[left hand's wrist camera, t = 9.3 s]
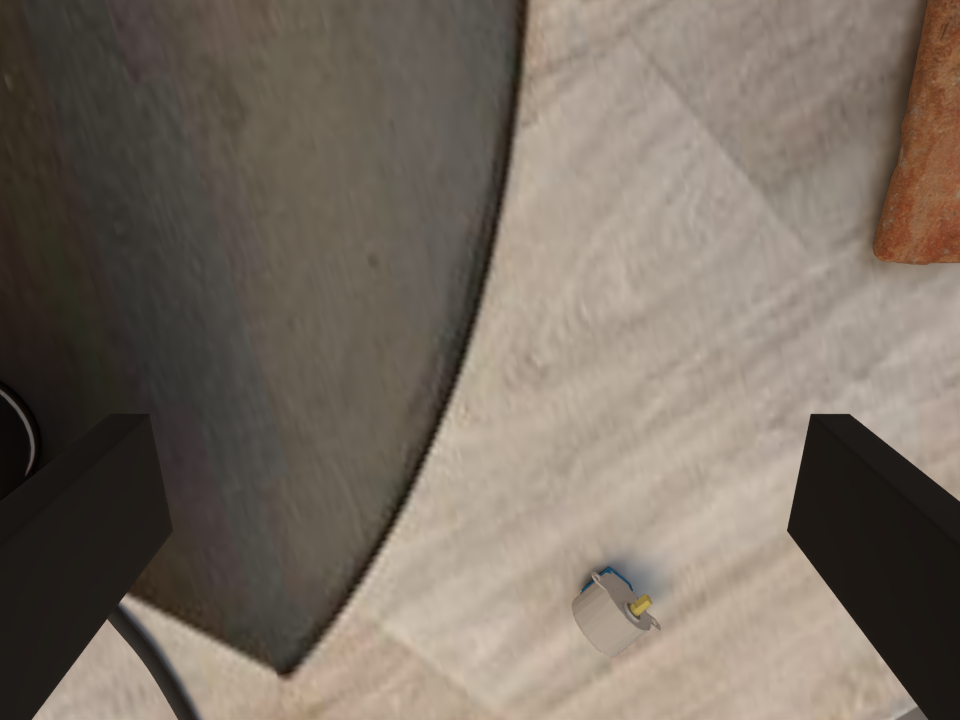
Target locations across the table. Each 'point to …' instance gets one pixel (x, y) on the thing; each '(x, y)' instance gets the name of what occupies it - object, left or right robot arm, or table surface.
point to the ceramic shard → (928, 152)
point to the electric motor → (612, 613)
